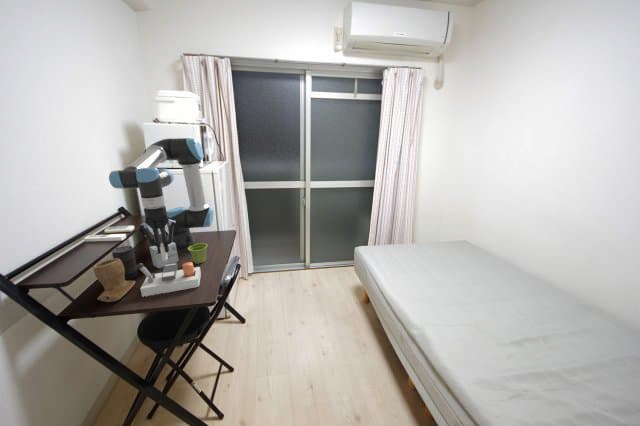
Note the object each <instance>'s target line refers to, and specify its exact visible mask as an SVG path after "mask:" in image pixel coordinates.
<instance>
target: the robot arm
mask: <svg viewBox="0 0 640 426" xmlns="http://www.w3.org/2000/svg"><path fill="white" fill-rule="evenodd" d="M203 159H204V151H203V147H202V145H201V143H200V141H199V139H197V138H189V137H187V138H186V137H185V138H184V137H183V138H180V137H179V138H178V137H177V138H163V139H160V140H157V141H156V142H154V143H152V144H150V145H149V146H147V148H146V150H145V152H144V153H142V154H141V155H140V156H139V157H138V158H136V159H135V160H134V161H132V163H130V164H129V165H127V166H126V167H125V168H124V169H122V170H120V169H118V170H112V171H111V172H110V173H109V176H108V181H109V184H110V185H111V186H112V187H113V188H115V189H124V190H125V189H139V193H140V199H141V203H142V207H143V212H144V217H145V220H144V222H143V223H141V224H140V225H139V226H138V227H139V229H141V230H142V231H143V233H144V235H145V237H146V239H147V240H148V242H149V244H150V247H152V246H156V247H157V249H158V253H161V255H162V260H163V261H166V260H167V259H168V256H167V252H168V251H169V247H168V244H171V242H174V243H175V244H176V249H183V248H188V247H190V246H191V245H194V244H195V242H196V241H195V237H194V236H193V234H192V233H191V230H190V229H196V228H197V229H198V228H200V229H201V228H209V227H211V226H212V224H213V221H214V210H213V208H211V207H210V206H209V204H208V203H206V198H205V192H204V187H203V181H202V177H201V169H200V165H201V163H202V160H203ZM165 161H177V162H178V163H177V164H178V165H179V166H180V167H181V168H182V173H183V178H184V182H185V186H186V187H185V188H186V190H187V195H188V200H189V206H188V208H187V207H186V206H177V207H174V208H171V209H170V208H169V209H168V210H167V208H166V205H165V204H166V203H165V198H164V193H163V188H165V187H169V186H170V185H171V184H172V183H173V182H174V174H173V172H172V171H171V170H169V169H168V168H157V166H158V165H159V164H163V163H164V162H165ZM166 226H167V231H168V237H167V231H166ZM150 228H151V229H152V232H153V234H152V232H151V231H150ZM160 235H161V237H160ZM161 239H162V242H161ZM161 243H163V244H161Z"/></svg>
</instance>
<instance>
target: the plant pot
mask: <svg viewBox="0 0 640 426" xmlns="http://www.w3.org/2000/svg"><path fill="white" fill-rule="evenodd" d="M207 248H208V244H207V243H202V242H200V243H199V242H198V243H193V244H192V245H190V246H188V247H187V250H188V251H189V253H190V255H191V257H192V261H193V264H196V265H198V264H201V263H205V262H206V261H207Z"/></svg>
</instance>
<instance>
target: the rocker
mask: <svg viewBox="0 0 640 426" xmlns="http://www.w3.org/2000/svg"><path fill="white" fill-rule="evenodd" d="M162 269H163V270H162V273H163V274H162V281H167V280H173V279H176V273H177V270H178V261H177V262H173V263H166V264H164V267H163V268H162Z"/></svg>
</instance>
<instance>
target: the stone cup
mask: <svg viewBox="0 0 640 426" xmlns="http://www.w3.org/2000/svg"><path fill="white" fill-rule="evenodd" d="M93 274H94V276H95V278H97V280H98V281H99V282H100V284H101V285H102V287H103V288H104V289H103V290H104V291H102V293H101V294H100V295H99V296H98V297H97V300H98V301H101V302H104V303H105V302H106V303H113V302H117V301H119V300H120V299H122V298H123V297H124V296H125V295H126V294H127V293H128V292H129V291H130V290H131V289H132V288H133V286H134V285H135V284H136V280H126V281H125V276H124V274H125V269H124V266H123V263H122V261H121V260H120V259H118V258H116V259H113V258H111V259H107V260H104V261H101V262H98V263H97V264H95V265H94V266H93Z"/></svg>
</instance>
